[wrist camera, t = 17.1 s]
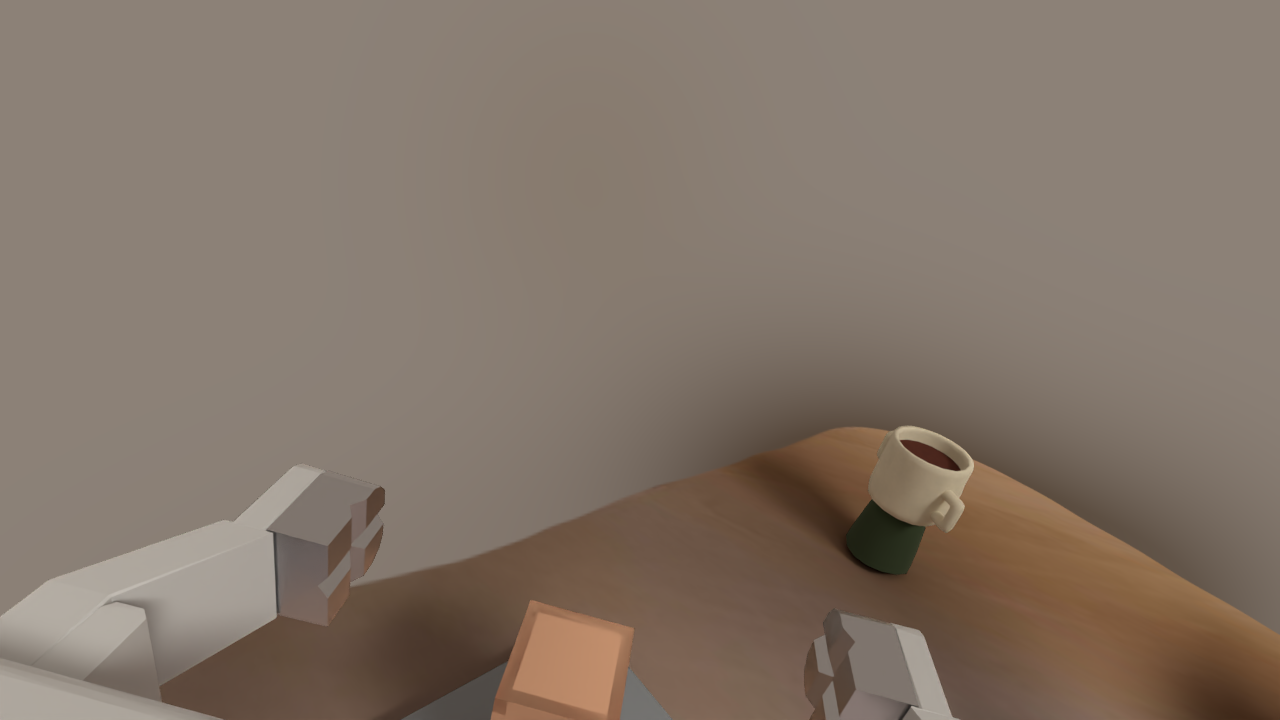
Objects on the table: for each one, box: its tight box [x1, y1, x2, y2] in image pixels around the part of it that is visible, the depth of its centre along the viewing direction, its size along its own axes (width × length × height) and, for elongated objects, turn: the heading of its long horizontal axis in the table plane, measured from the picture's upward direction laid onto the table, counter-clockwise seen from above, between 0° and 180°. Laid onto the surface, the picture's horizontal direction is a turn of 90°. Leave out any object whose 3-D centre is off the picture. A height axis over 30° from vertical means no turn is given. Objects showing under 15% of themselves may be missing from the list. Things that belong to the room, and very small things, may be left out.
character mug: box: [846, 426, 974, 574], centre depth 58 cm, size 11×7×13 cm, turn 12°
